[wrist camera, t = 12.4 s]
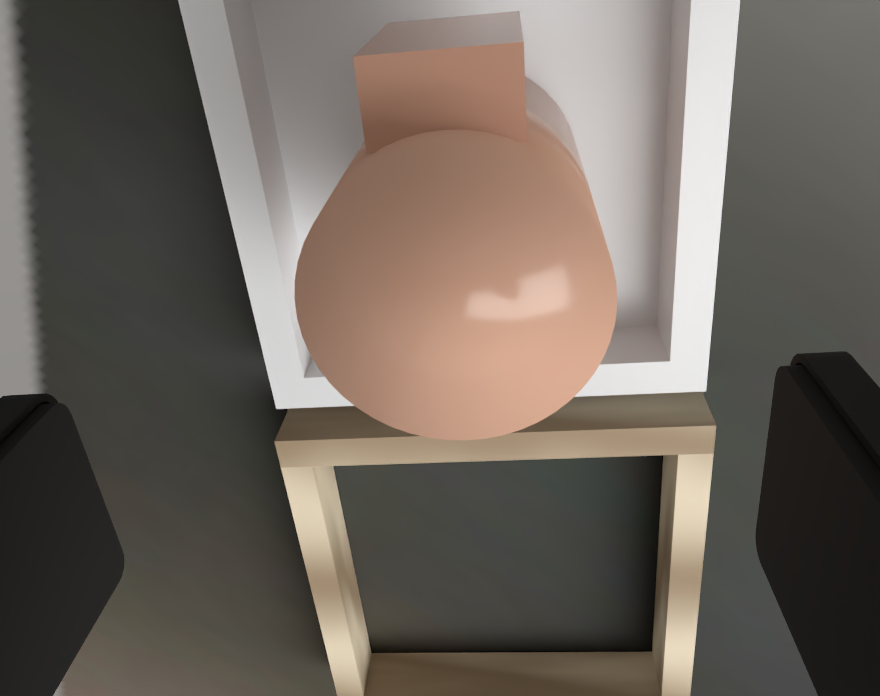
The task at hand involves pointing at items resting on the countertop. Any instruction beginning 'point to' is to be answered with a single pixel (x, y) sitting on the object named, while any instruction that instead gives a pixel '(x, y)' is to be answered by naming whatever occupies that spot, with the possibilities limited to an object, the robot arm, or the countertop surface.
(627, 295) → the tray
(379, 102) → the pink cylinder with tab
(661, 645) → the light wooden square frame
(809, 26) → the countertop surface
